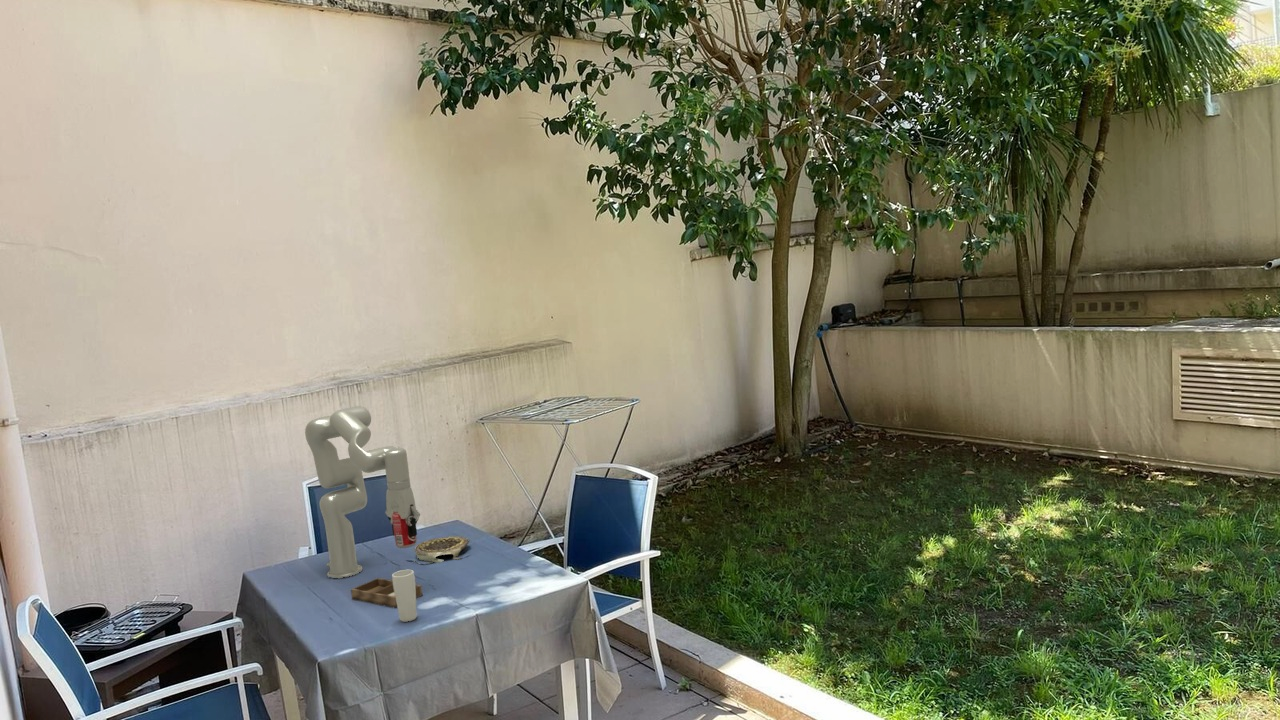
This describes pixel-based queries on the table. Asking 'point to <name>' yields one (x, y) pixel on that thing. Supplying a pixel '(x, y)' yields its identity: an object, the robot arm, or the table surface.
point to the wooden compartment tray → (379, 592)
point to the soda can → (402, 532)
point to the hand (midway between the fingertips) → (405, 534)
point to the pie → (440, 548)
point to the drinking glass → (405, 594)
